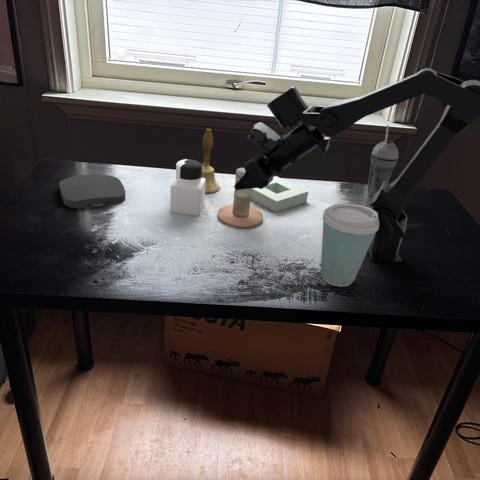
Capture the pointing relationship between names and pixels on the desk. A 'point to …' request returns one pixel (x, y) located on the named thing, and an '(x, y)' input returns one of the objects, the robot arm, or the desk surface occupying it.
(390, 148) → the beverage cup
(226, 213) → the terracotta coaster
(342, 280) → the disposable coffee cup
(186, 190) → the medicine bottle
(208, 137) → the hand bell
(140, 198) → the desk surface
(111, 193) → the media streaming box
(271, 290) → the desk surface
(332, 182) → the desk surface
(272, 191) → the socket block
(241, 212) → the beige cylinder
